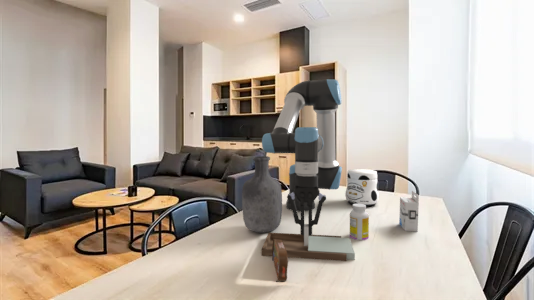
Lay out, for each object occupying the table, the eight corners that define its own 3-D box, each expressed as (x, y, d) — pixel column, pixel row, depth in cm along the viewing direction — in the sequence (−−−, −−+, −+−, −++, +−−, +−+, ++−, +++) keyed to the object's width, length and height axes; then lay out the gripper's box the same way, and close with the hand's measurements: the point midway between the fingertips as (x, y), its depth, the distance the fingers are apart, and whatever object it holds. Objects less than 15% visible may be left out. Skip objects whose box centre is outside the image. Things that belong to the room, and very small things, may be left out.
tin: (271, 260, 85) (271, 234, 84) (281, 260, 85) (281, 234, 85) (277, 288, 70) (277, 256, 69) (289, 287, 70) (289, 256, 70)
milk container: (345, 206, 144) (345, 173, 143) (345, 198, 160) (345, 168, 159) (380, 209, 139) (381, 174, 138) (377, 200, 155) (377, 169, 154)
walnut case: (268, 240, 101) (268, 232, 100) (341, 244, 97) (341, 236, 96) (261, 258, 86) (261, 249, 86) (346, 264, 82) (346, 254, 82)
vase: (287, 226, 115) (287, 155, 113) (272, 240, 100) (271, 159, 98) (254, 221, 121) (253, 154, 119) (235, 234, 107) (233, 158, 105)
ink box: (398, 223, 117) (399, 189, 116) (411, 224, 116) (412, 190, 115) (404, 231, 109) (405, 194, 108) (418, 231, 108) (419, 195, 107)
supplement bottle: (368, 236, 103) (368, 203, 102) (368, 243, 97) (369, 208, 96) (349, 234, 105) (350, 202, 104) (349, 241, 99) (349, 206, 98)
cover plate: (308, 241, 97) (308, 235, 97) (349, 243, 95) (349, 238, 94) (308, 256, 85) (308, 250, 85) (354, 259, 83) (354, 253, 83)
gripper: (285, 175, 87) (285, 247, 88) (327, 176, 85) (326, 250, 86) (287, 172, 94) (287, 238, 96) (326, 172, 92) (325, 241, 94)
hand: (306, 244), depth 91 cm, fingers closed
